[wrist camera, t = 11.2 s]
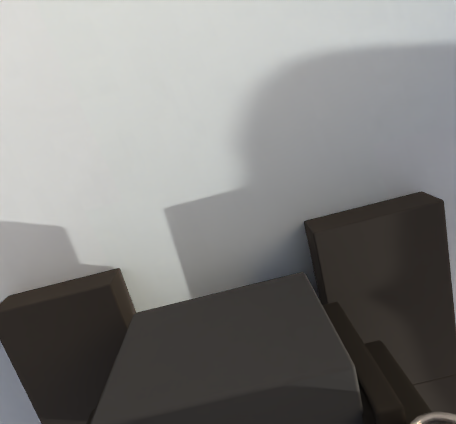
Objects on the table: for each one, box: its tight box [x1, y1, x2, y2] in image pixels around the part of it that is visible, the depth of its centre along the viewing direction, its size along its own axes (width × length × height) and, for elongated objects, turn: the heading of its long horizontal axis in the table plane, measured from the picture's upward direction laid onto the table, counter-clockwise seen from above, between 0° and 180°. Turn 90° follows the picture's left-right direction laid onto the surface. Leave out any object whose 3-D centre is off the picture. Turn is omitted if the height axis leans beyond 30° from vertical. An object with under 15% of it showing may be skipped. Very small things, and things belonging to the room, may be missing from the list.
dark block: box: [91, 272, 364, 424], centre depth 9 cm, size 5×5×4 cm
